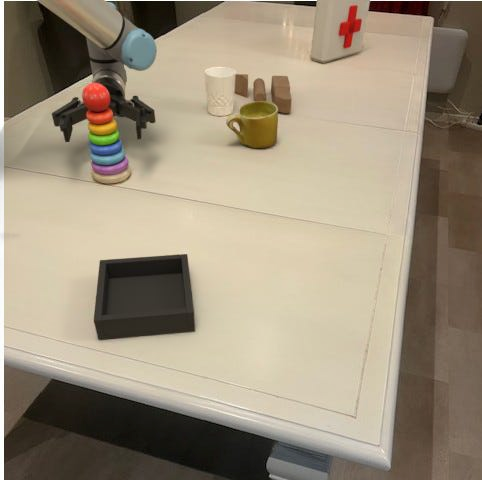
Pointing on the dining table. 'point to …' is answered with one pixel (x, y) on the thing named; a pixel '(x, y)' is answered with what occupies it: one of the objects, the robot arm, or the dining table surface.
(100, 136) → the stacking toy
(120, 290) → the socket pad
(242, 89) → the wooden block set
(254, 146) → the mug
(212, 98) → the white cup
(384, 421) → the dining table surface
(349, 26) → the bevelled white case
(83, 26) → the robot arm
